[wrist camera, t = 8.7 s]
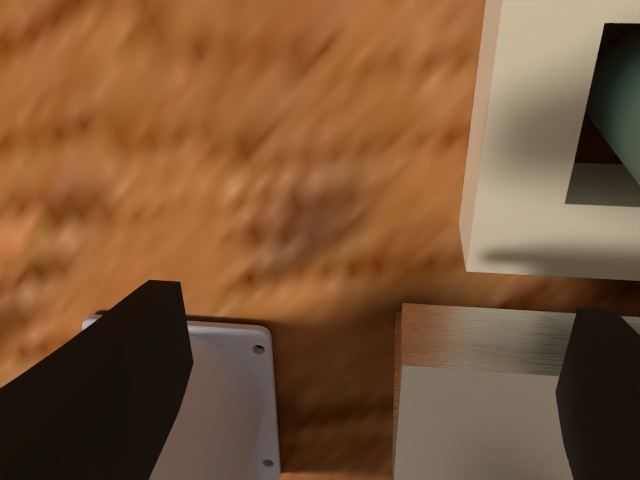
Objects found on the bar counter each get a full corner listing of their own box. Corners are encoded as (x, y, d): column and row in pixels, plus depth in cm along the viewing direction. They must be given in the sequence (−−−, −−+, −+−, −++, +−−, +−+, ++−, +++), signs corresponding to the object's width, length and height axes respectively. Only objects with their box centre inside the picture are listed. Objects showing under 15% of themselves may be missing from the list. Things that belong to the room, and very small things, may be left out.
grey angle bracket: (769, 354, 23) (923, 558, 16) (394, 330, 24) (391, 507, 18) (831, 228, 20) (1049, 411, 13) (402, 209, 22) (402, 365, 15)
